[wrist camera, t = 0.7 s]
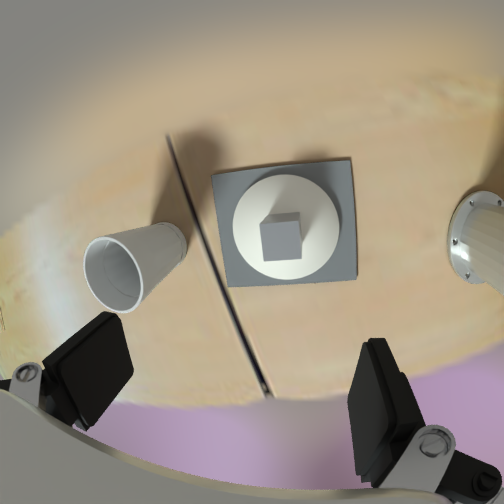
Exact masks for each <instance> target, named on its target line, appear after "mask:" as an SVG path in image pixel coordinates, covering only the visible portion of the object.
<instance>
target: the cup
mask: <svg viewBox="0 0 504 504" xmlns="http://www.w3.org/2000/svg"><path fill="white" fill-rule="evenodd" d="M186 253H187V244H186V240H185V237H184V235H183V233H182V232H181V231H180V229H179V228H177V227H176V226H175V225H173V224H171V223H168V222H160V223H157V224H154V225H150V226H145V227H141V228H137V229H132V230H128V231H124V232H119V233H115V234H110V235H106V236H101V237H98V238H96V239H94V240H93V241H91V242H90V244H89V245H88V246H87V248H86V251H85V254H84V259H83V268H84V275H85V278H86V281H87V284H88V286H89V288H90V290H91V292H92V293H93V295H94V296H95V297H96V299H97V300H98V301H99V302H100V303H101V304H102V305H104V306H105V307H106V308H108V309H110V310H112V311H114V312H117V313H128V312H131V311H133V310H134V309H136V308H137V307H138V306H139V304H140V303H141V302H142V301H143V300H144V299H145V298H146V297H147V296H148V295H149V294H150V293H151V292H152V290H153V289H154V288H155V287H156V286H157V285H158V284H159V283H160V282H161V281H162V280H163V279H164V278H165V277H166V276H167V275H168V274H169V273H170V272H171V271H172V270H173V269H174V268H175V267H177V266H178V265H180V264H181V263H182V262H183V260H184V258H185V256H186Z"/></svg>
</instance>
